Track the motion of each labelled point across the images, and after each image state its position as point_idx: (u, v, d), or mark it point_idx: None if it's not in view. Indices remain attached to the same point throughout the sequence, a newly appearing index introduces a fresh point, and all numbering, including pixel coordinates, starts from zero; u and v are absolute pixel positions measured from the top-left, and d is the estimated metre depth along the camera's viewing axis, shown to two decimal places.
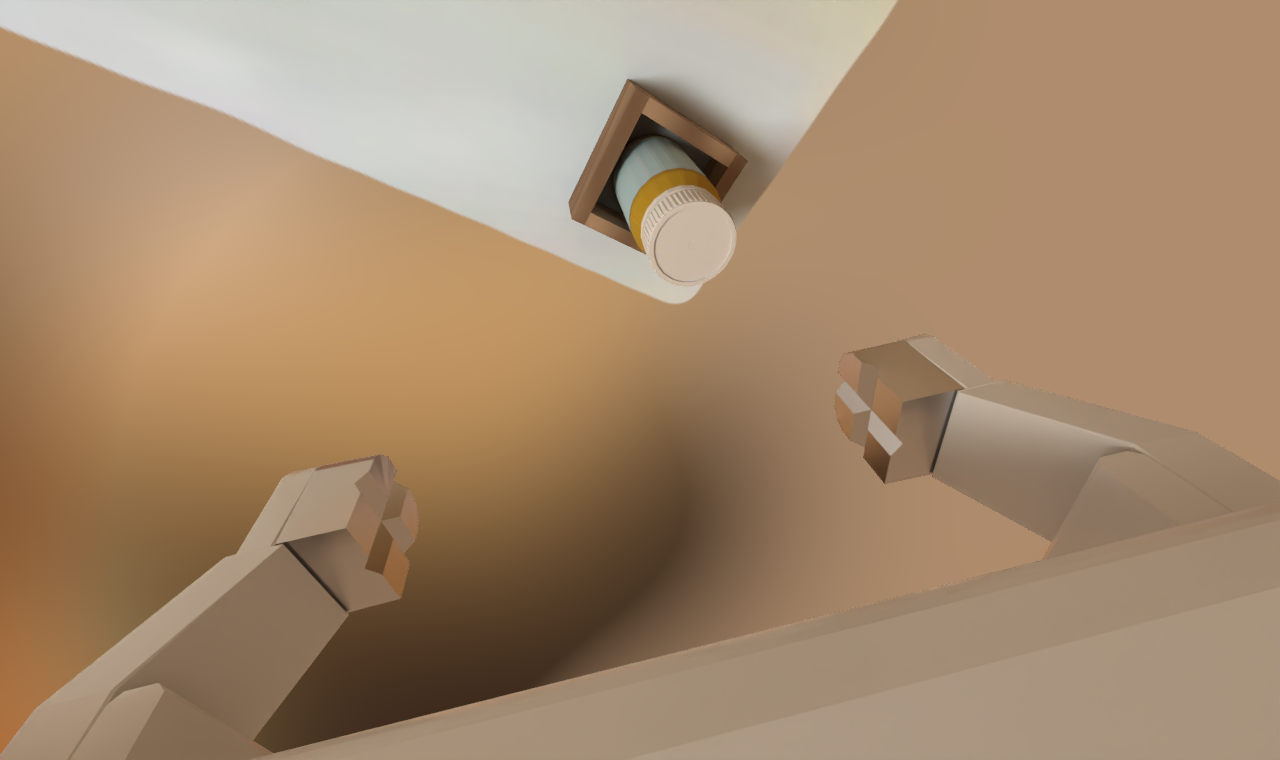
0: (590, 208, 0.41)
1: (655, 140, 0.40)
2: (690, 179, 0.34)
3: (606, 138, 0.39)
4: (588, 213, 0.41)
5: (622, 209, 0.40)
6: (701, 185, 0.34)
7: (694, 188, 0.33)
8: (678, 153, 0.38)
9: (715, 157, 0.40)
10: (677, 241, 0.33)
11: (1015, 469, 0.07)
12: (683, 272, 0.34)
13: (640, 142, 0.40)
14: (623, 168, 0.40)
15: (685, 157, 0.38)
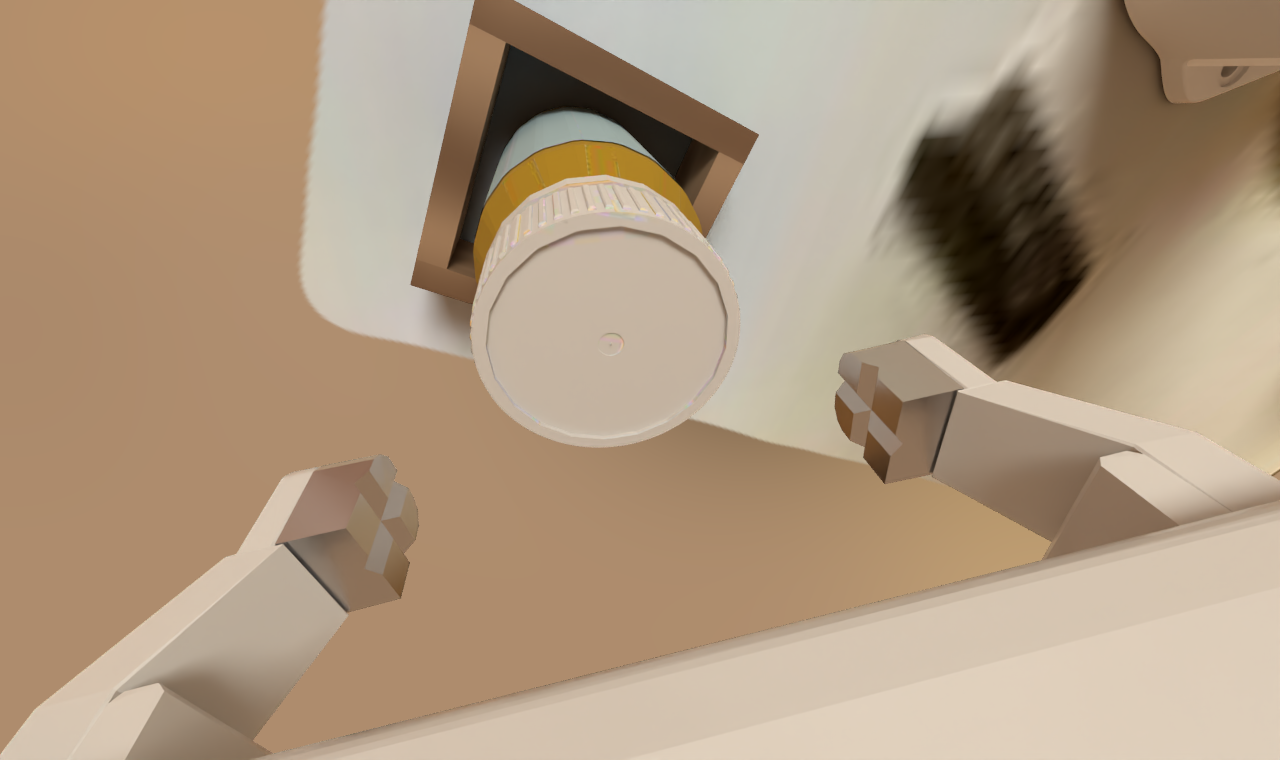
0: (516, 40, 0.16)
1: None
2: None
3: None
4: (502, 35, 0.16)
5: (544, 127, 0.16)
6: None
7: None
8: None
9: None
10: (621, 299, 0.11)
11: (1015, 469, 0.07)
12: (520, 338, 0.11)
13: None
14: (614, 123, 0.19)
15: None
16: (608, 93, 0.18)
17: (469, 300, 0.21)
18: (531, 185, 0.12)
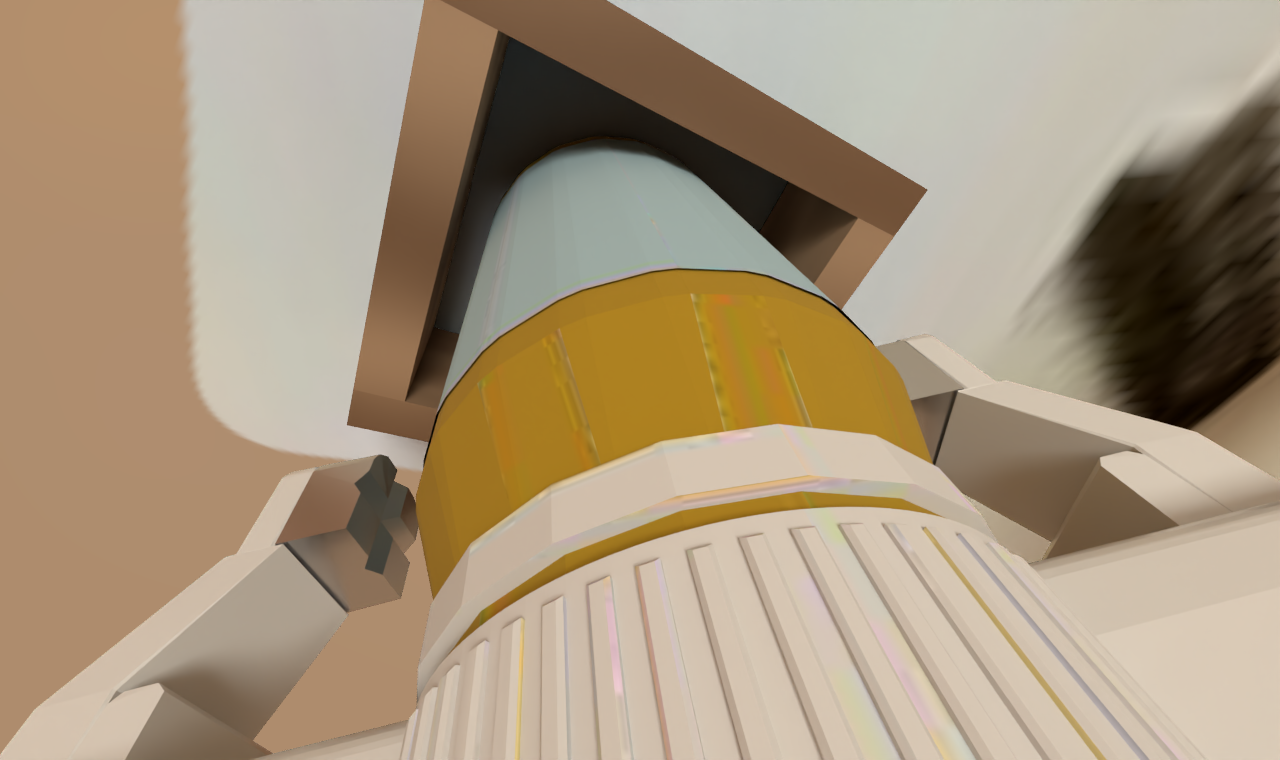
0: (518, 27, 0.09)
1: None
2: None
3: None
4: (491, 16, 0.08)
5: (571, 194, 0.09)
6: None
7: None
8: None
9: None
10: None
11: (1015, 469, 0.07)
12: None
13: None
14: (687, 173, 0.11)
15: None
16: (683, 124, 0.10)
17: None
18: (554, 427, 0.04)
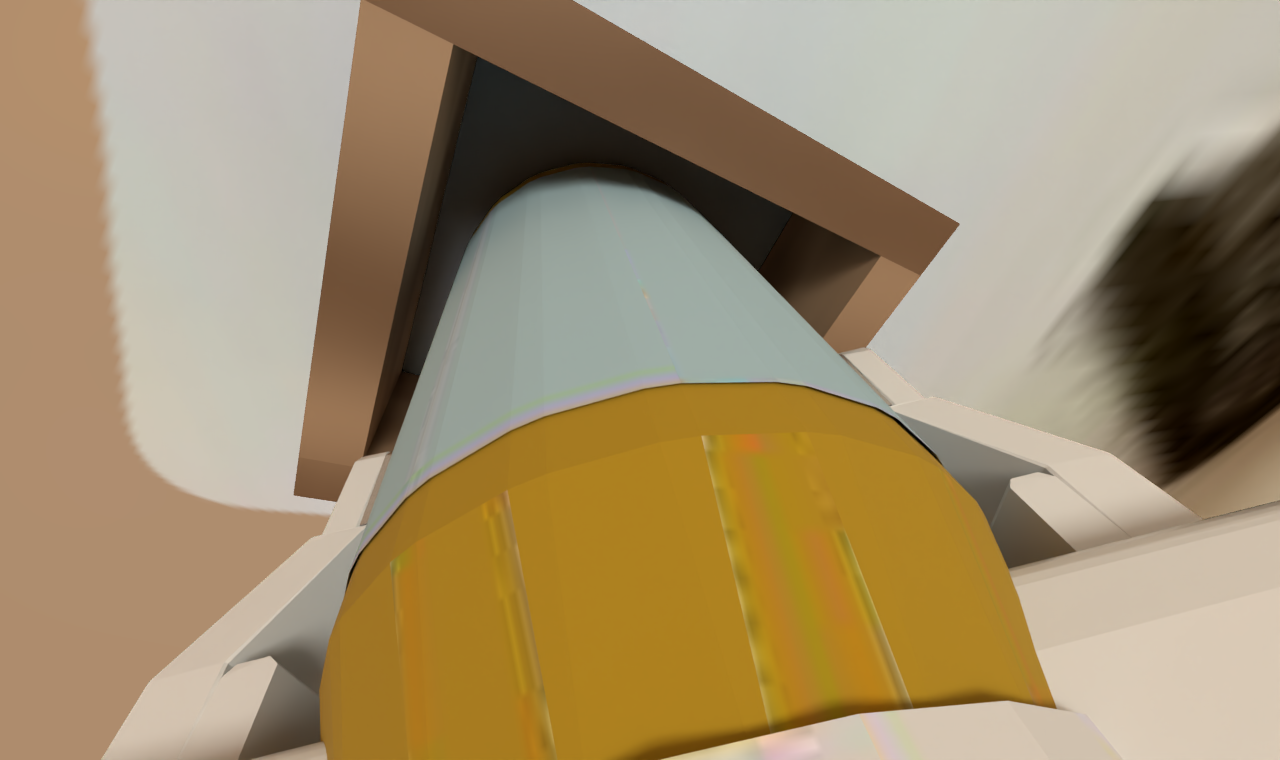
0: (479, 40, 0.07)
1: None
2: None
3: None
4: (445, 27, 0.07)
5: (544, 244, 0.07)
6: None
7: None
8: None
9: None
10: None
11: None
12: None
13: None
14: (684, 210, 0.09)
15: None
16: (680, 153, 0.08)
17: None
18: (490, 678, 0.03)
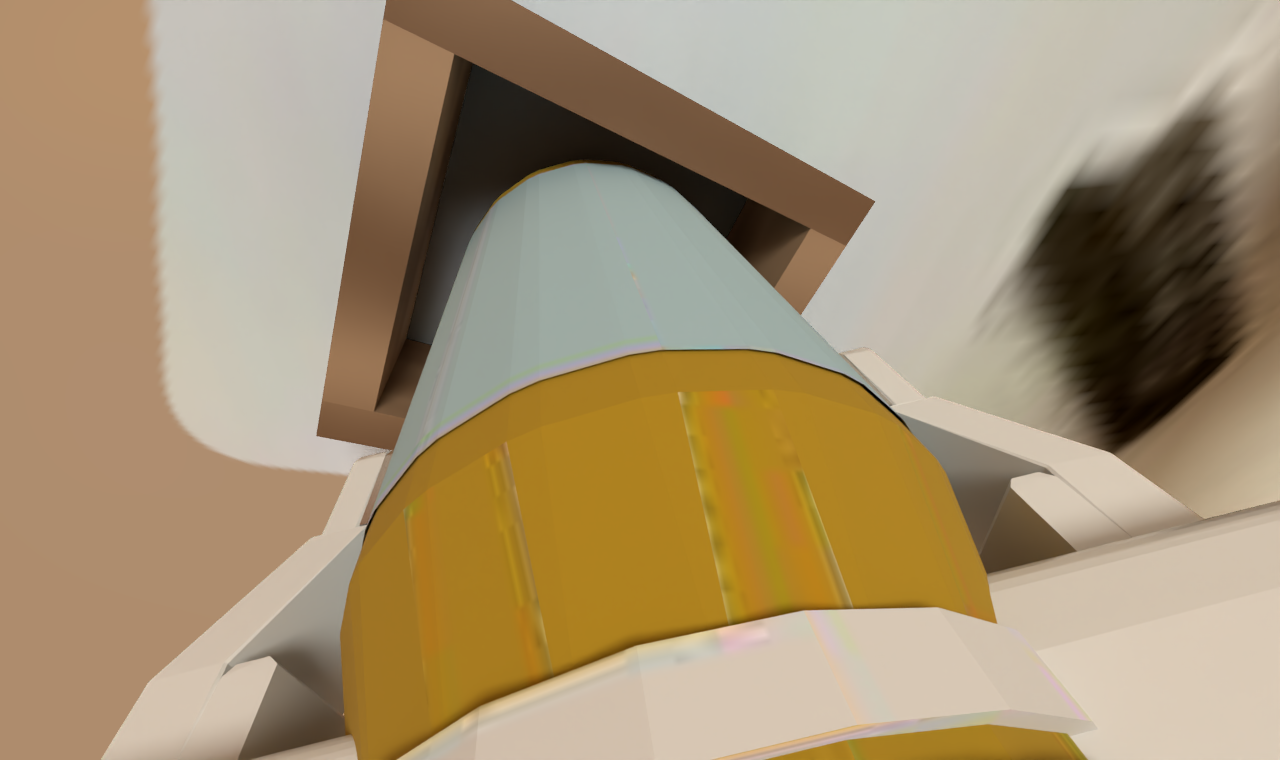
0: (474, 51, 0.09)
1: None
2: None
3: None
4: (447, 40, 0.09)
5: (542, 235, 0.07)
6: None
7: None
8: None
9: None
10: None
11: None
12: None
13: None
14: (676, 203, 0.10)
15: None
16: (637, 141, 0.10)
17: None
18: (493, 596, 0.03)
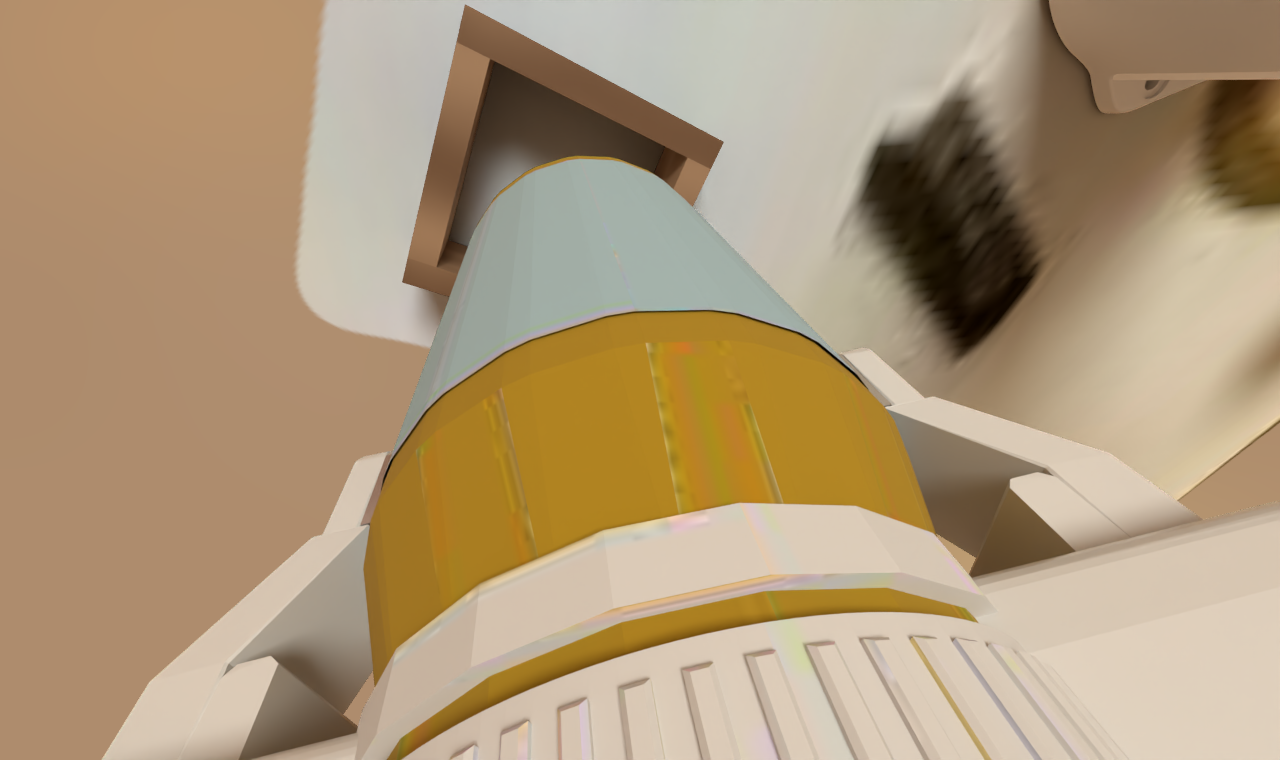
0: (499, 57, 0.18)
1: None
2: None
3: None
4: (487, 52, 0.18)
5: (536, 223, 0.08)
6: None
7: None
8: None
9: None
10: None
11: (942, 487, 0.07)
12: None
13: None
14: (663, 193, 0.10)
15: None
16: (584, 104, 0.19)
17: None
18: (490, 507, 0.04)
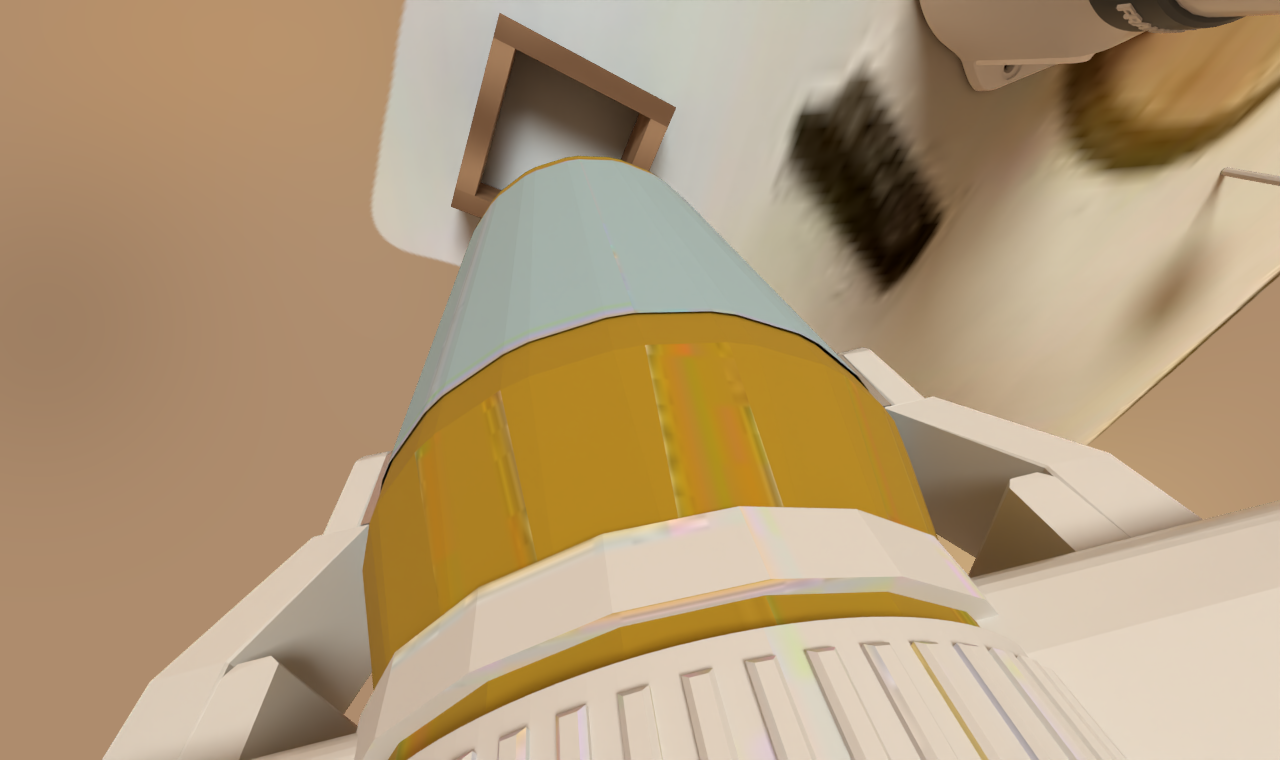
0: (521, 47, 0.27)
1: None
2: None
3: None
4: (513, 44, 0.27)
5: (535, 224, 0.08)
6: None
7: None
8: None
9: None
10: None
11: (941, 487, 0.07)
12: None
13: None
14: (663, 194, 0.10)
15: None
16: (578, 80, 0.29)
17: None
18: (489, 510, 0.04)
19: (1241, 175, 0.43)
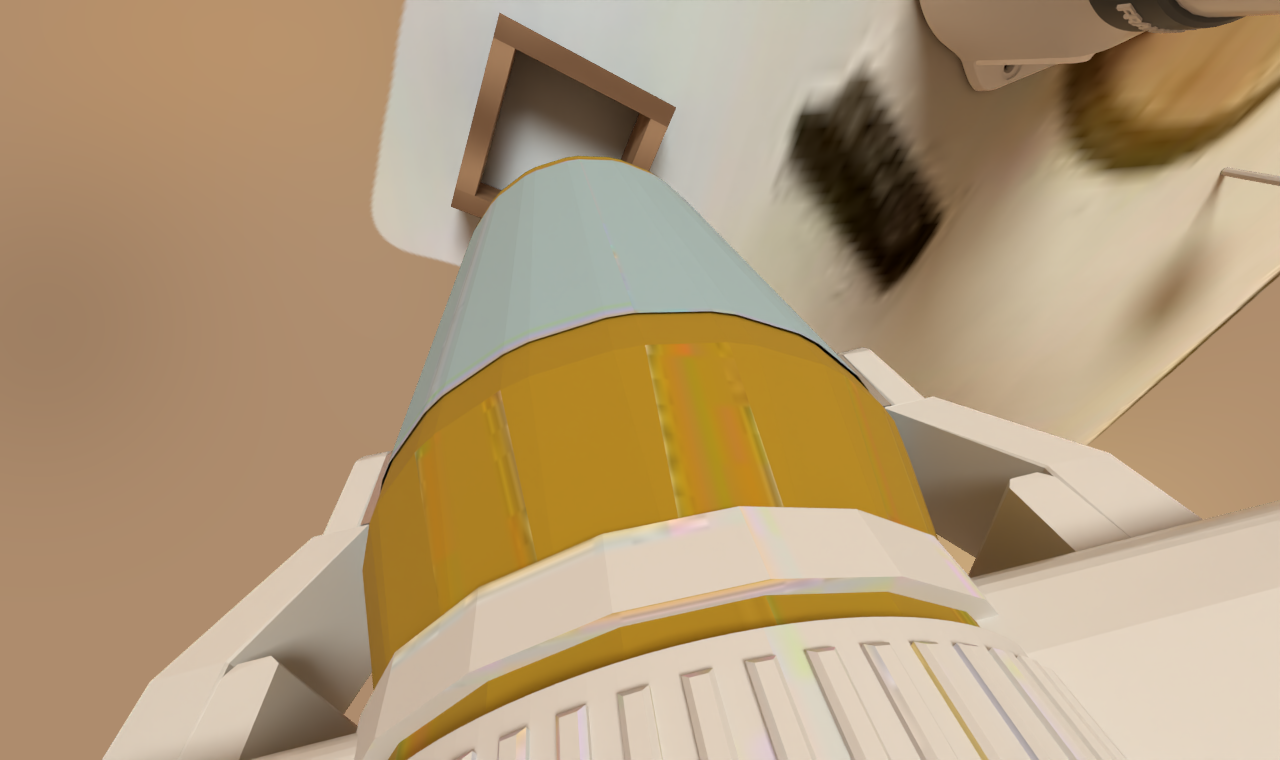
0: (521, 47, 0.27)
1: None
2: None
3: None
4: (513, 44, 0.27)
5: (536, 224, 0.08)
6: None
7: None
8: None
9: None
10: None
11: (941, 487, 0.07)
12: None
13: None
14: (663, 193, 0.10)
15: None
16: (578, 80, 0.29)
17: None
18: (489, 510, 0.04)
19: (1242, 175, 0.43)
